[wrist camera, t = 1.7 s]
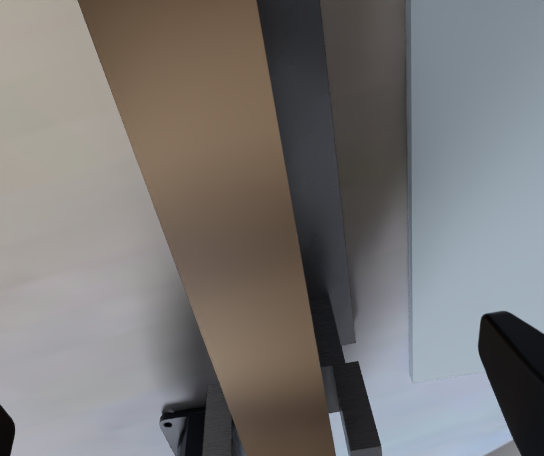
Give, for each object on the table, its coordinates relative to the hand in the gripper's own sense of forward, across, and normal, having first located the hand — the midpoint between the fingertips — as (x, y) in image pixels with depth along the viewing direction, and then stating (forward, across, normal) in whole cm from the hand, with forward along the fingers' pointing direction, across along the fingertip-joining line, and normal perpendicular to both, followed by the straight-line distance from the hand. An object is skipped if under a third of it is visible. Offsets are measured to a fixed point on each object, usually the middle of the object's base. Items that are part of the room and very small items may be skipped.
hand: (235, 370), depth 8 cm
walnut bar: (+6, 0, 0) cm, 6 cm away
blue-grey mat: (+11, -10, +3) cm, 15 cm away
